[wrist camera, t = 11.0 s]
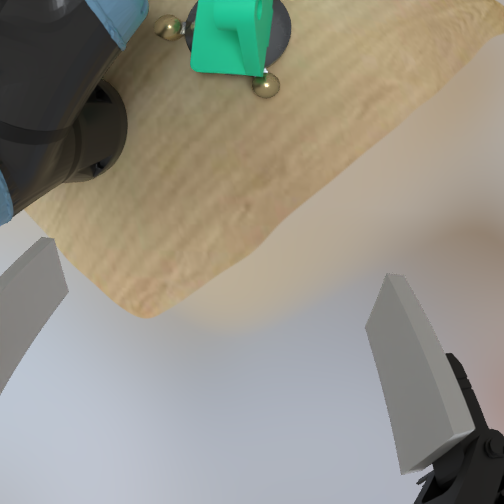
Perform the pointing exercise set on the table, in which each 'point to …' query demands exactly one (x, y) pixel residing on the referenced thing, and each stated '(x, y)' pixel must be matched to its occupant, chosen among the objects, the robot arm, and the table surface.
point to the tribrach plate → (278, 42)
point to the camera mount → (231, 36)
